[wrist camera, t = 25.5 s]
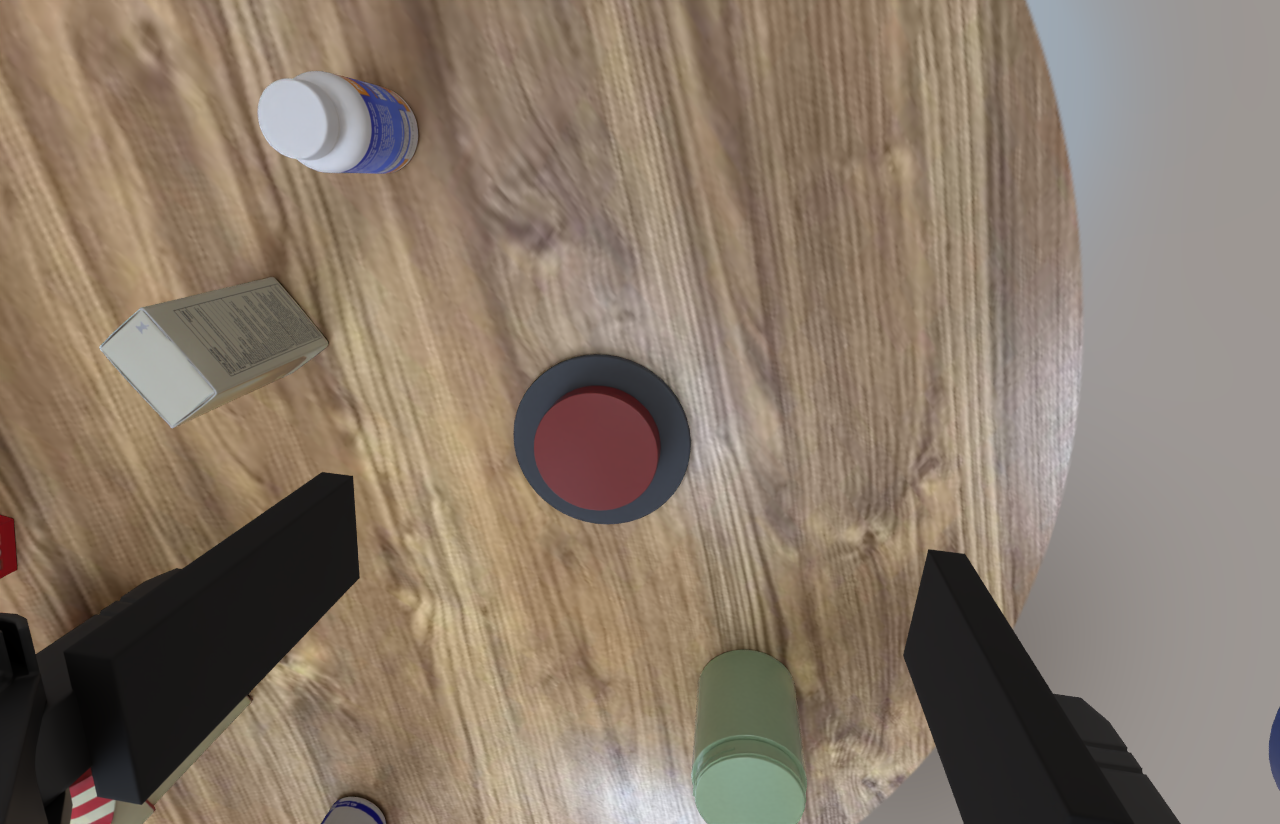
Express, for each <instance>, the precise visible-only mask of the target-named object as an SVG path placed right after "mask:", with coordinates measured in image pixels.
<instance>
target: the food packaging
mask: <svg viewBox="0 0 1280 824" xmlns="http://www.w3.org/2000/svg"><path fill="white" fill-rule="evenodd" d="M15 570H17V560H16V546H15V533H14V519H12V518H9V517H5V516H2V515H0V578H2V577H4V576H6V575H8V574H10V573H12V572H13V571H15Z"/></svg>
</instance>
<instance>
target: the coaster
mask: <svg viewBox="0 0 1280 824" xmlns="http://www.w3.org/2000/svg"><path fill="white" fill-rule="evenodd" d="M586 386H608V387H612V388H616V389H618V390H621V391H624V392H625V393H627V394H629V395H631V396H632V397H634V398H635V399H637V400H638V401H639V402H640V403H641V404H642V405H643V406H644V407H645V408H646V409H647V410H648V411H649V413H650V414H651V416H652V417H653V419H654V421H655V423H656V426H657V428H658V431H659V436H660V444H661V449H660V457H659V461H658V465H657V469H656V472H655V475H654V477H653V480H652V481H651V483H650V485H649V486H648V488H647V489H646V490H645V491H644V492H643V493H642V494H641V495H640V496H639V497H638V498H637V499H635V500H634V501H633V502H631V503H629V504H627V505H625V506H622V507H620V508H616V509H612V510H589V509H584V508H580V507H578V506H575V505H573V504H571V503H569V502H567V501H565V500H564V499H562V498H561V497H559V496H558V495H557V494H556V493H554V492H553V491H552V490H551V488H550V487H549V486H548V485H547V484H546V482H545V481H544V480H543V478H542V476H541V474H540V472H539V470H538V467H537V465H536V461H535V455H534V440H535V434H536V431H537V428H538V426H539V423H540V421H541V420H542V418H543V417H544V415H545V414H546V413H547V412H548V410H549V409H550V408H551V407H552V406H553V404H554V403H555V402H556V401H557V400H558V399H560V398H561V397H562V396H564V395H565V394H567V393H568V392H571V391H573V390H575V389H578V388H581V387H586ZM690 445H691V439H690V430H689V425H688V421H687V418H686V415H685V413H684V410H683V408H682V406H681V404H680V402H679V400H678V399H677V397H676V396H675V394H674V393H673V392H672V390H671V389H670V388H669V387H668V386H667V385H666V384H665V383H664V381H663V380H662V379H660V378H659V377H658V376H657V375H655V374H654V373H653V372H652V371H650V370H648V369H647V368H645V367H643V366H642V365H640V364H637V363H635V362H633V361H631V360H628V359H624V358H621V357H617V356H611V355H598V354H594V355H583V356H579V357H574V358H571V359H568V360H565V361H563V362H560V363H558V364H557V365H555V366H553V367H551V368H550V369H548V370H547V371H546V372H544V373H543V374H542V375H541V376H540V377H539V378H538V379H537V380H536V381H535V382H534V383H533V384H532V385H531V386H530V388H529V389H528V390H527V392H526V393H525V395H524V397H523V399H522V400H521V402H520V405H519V408H518V410H517V414H516V418H515V422H514V446H515V451H516V456H517V459H518V462H519V465H520V467H521V469H522V471H523V474H524V476H525V477H526V479H527V480H528V482H529V484H530V485H531V486H532V487H533V489H534V490H535V491H536V492H537V493H538V494H539V495H540V496H541V497H542V498H543V499H544V500H545V501H546V502H547V503H549V504H550V505H551V506H553V507H554V508H555V509H557V510H559V511H561V512H562V513H564V514H566V515H568V516H571V517H573V518H576V519H579V520H582V521H585V522H591V523H596V524H619V523H625V522H630V521H633V520H636V519H639V518H641V517H644V516H646V515H648V514H650V513H652V512H653V511H655V510H656V509H658V508H659V507H660V506H662V505H663V504H664V503H665V502H666V501H667V500H668V499H669V498H670V497H671V496H672V495H673V494H674V492H675V491H676V490H677V488H678V487H679V485H680V483H681V481H682V479H683V477H684V475H685V472H686V469H687V466H688V462H689V456H690Z"/></svg>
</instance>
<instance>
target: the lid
mask: <svg viewBox="0 0 1280 824" xmlns="http://www.w3.org/2000/svg"><path fill="white" fill-rule="evenodd" d="M660 449H661V444H660V436H659V431H658V428H657V426H656V423H655V421H654V419H653V417H652V416H651V414H650V413H649V411H648V410H647V409H646V408H645V407H644V406H643V405H642V404H641V403H640V402H639V401H638V400H637V399H635V398H634V397H632V396H631V395H629V394H627V393H625V392H624V391H621V390H618V389H616V388H612V387H608V386H586V387H581V388H578V389H575V390H573V391H571V392H568V393H567V394H565V395H564V396H562V397H561V398H560V399H558V400H557V401H556V402H555V403H554V404H553V406H552V407H551V408H550V409H549V410H548V412H547V413H546V414H545V415H544V417H543V418H542V420H541V421H540V423H539V426H538V428H537V431H536V434H535V440H534V455H535V461H536V465H537V467H538V470H539V472H540V474H541V476H542V478H543V480H544V481H545V482H546V484H547V485H548V486H549V487H550V488H551V490H552V491H553V492H554V493H556V494H557V495H558V496H559V497H561V498H562V499H564V500H565V501H567V502H569V503H571V504H573V505H575V506H578V507H580V508H584V509H589V510H612V509H616V508H620V507H622V506H625V505H627V504H629V503H631V502H633V501H634V500H635V499H637V498H638V497H639V496H640V495H641V494H642V493H643V492H644V491H645V490H646V489H647V488H648V486H649V485H650V483H651V481H652V480H653V477H654V475H655V472H656V469H657V465H658V461H659V457H660Z"/></svg>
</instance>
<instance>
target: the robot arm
mask: <svg viewBox="0 0 1280 824" xmlns="http://www.w3.org/2000/svg"><path fill="white" fill-rule="evenodd" d="M359 578H360V577H359V561H358V546H357V531H356V515H355V500H354V485H353V476H349V475H341V474H333V473H325V472H322V473H320V474H319V475H317V476H316V477H314V478H313V479H312V480H310V481H309V482H307V483H306V484H304V485H303V486H301V487H300V488H299V489H297V490H296V491H294V492H293V493H291V494H290V495H288V496H287V497H286V498H284V499H283V500H281V501H280V502H278V503H277V504H275V505H274V506H273V507H271V508H270V509H268V510H267V511H265V512H264V513H262V514H261V515H260V516H258V517H257V518H255V519H254V520H252V521H251V522H249V523H248V524H247V525H245V526H244V527H242V528H241V529H239V530H238V531H236V532H235V533H234V534H232V535H231V536H229V537H228V538H226V539H225V540H223V541H222V542H221V543H219V544H218V545H216V546H215V547H213V548H212V549H210V550H209V551H208V552H206V553H205V554H203V555H202V556H200V557H199V558H197V559H196V560H195V561H193V562H192V563H190V564H189V565H187V566H186V567H184V568H183V569H178V568H176V569H173V570H171V571H169V572H166V573H164V574H161V575H159V576H157V577H154V578H152V579H149V580H147V581H145V582H143V583H142V584H140V585H139V586H137V587H136V588H134V589H133V590H131V591H130V592H128V593H127V594H125V595H124V596H122V597H121V600H120V601H115V602H113V603H112V604H110V605H109V606H107V607H106V608H104V609H103V610H101V613H100V614H99V615H94V616H93V617H91V618H90V619H88V620H87V621H85V622H84V623H82V624H81V625H79V626H78V627H76V628H75V629H73V630H72V631H70V632H69V633H67V634H66V635H64V636H63V637H61V638H60V639H58V640H57V641H55V642H54V643H52V644H51V645H49V646H48V647H46V648H45V649H43V650H42V651H40V652H39V653H37V654H35V650H34V646H33V642H32V638H31V634H30V630H29V626H28V622H27V619H26V618H24V617H22V616H20V615H18V614H10V613H0V824H70V821H71V814H72V807H73V803H72V798H71V794H70V790H69V786H70V785H71V784H73V783H74V782H75V781H76V780H77V779H78V778H79V777H80V776H81V775H83V774H84V773H85V772H86V771H87V770H88V769H89V768H91V772H92V777H93V781H94V785H95V790H96V794H97V797H100V798H106V799H111V800H117V801H122V802H128V803H133V804H139V805H142V804H143V803H144V802H145V801H146V800H147V799H148V798H149V797H150V796H151V795H152V794H153V793H154V792H155V791H156V790H157V789H158V788H159V786H160V785H161V784H162V783H163V782H164V781H165V780H166V779H167V778H168V777H169V776H170V775H171V774H172V773H173V772H174V771H175V770H176V769H177V768H178V767H179V766H180V765H181V764H182V763H183V761H184V760H185V759H186V758H187V757H188V756H189V755H190V754H191V753H192V752H193V751H194V750H195V749H196V748H197V747H198V746H199V745H200V744H201V743H202V742H203V741H204V740H205V739H206V737H207V736H208V735H209V734H210V733H211V732H212V731H213V730H214V729H215V728H216V727H217V726H218V725H219V724H220V723H221V722H222V721H223V720H224V719H225V718H226V717H227V716H228V715H229V713H230V712H231V711H232V710H233V709H234V708H235V707H236V706H237V705H238V704H239V703H240V702H241V701H242V700H243V699H244V698H245V697H246V696H247V695H248V694H249V693H250V692H251V691H252V689H253V688H254V687H255V686H256V685H257V684H258V683H259V682H260V681H261V680H262V679H263V678H264V677H265V676H266V675H267V674H268V673H269V672H270V671H271V670H272V669H273V668H274V667H275V665H276V664H277V663H278V662H279V661H280V660H281V659H282V658H283V657H284V656H285V655H286V654H287V653H288V652H289V651H290V650H291V649H292V648H293V647H294V646H295V645H296V644H297V643H298V641H299V640H300V639H301V638H302V637H303V636H304V635H305V634H306V633H307V632H308V631H309V630H310V629H311V628H312V627H313V626H314V625H315V624H316V623H317V622H318V621H319V620H320V619H321V617H322V616H323V615H324V614H325V613H326V612H327V611H328V610H329V609H330V608H331V607H332V606H333V605H334V604H335V603H336V602H337V601H338V600H339V599H340V598H341V597H342V596H343V595H344V593H345V592H346V591H347V590H348V589H349V588H350V587H351V586H352V585H353V584H354V583H355V582H356V581H357V580H358V579H359ZM903 656H904V659H905V662H906V664H907V667H908V670H909V673H910V676H911V678H912V681H913V684H914V687H915V689H916V692H917V695H918V698H919V700H920V703H921V706H922V709H923V712H924V714H925V717H926V720H927V723H928V725H929V728H930V731H931V734H932V737H933V739H934V742H935V745H936V748H937V750H938V753H939V756H940V759H941V761H942V764H943V767H944V770H945V773H946V775H947V778H948V781H949V784H950V786H951V789H952V792H953V795H954V797H955V800H956V803H957V806H958V808H959V811H960V814H961V817H962V820H963V822H964V824H1180V822H1179V821H1178V819H1177V818H1176V816H1175V815H1174V814H1173V812H1172V811H1171V809H1170V808H1169V806H1168V805H1167V804H1166V802H1165V801H1164V799H1163V798H1162V796H1161V795H1160V794H1159V792H1158V791H1157V789H1156V788H1155V786H1154V785H1153V784H1152V782H1151V781H1150V780H1149V778H1148V777H1147V775H1144V774H1143V773H1142V768H1141V767H1140V765H1139V764H1138V762H1137V761H1136V759H1135V758H1134V757H1133V755H1132V754H1131V753H1129V752H1127V747H1126V745H1125V744H1124V742H1123V741H1122V739H1121V738H1120V737H1119V735H1118V734H1117V732H1116V731H1115V729H1114V728H1113V727H1112V725H1111V724H1110V722H1109V721H1107V720H1106V719H1105V718H1104V717H1103V716H1102V715H1101V714H1099V713H1098V712H1097V711H1096V710H1095V709H1093V708H1092V707H1091V706H1090V705H1089V704H1088V703H1086V702H1085V701H1084V700H1083V699H1082V698H1079V697H1072V696H1065V695H1058V694H1053V693H1052V691H1051V690H1050V689H1049V687H1048V685H1047V684H1046V682H1045V680H1044V679H1043V677H1042V676H1041V674H1040V672H1039V671H1038V670H1037V668H1036V666H1035V665H1034V663H1033V661H1032V660H1031V658H1030V656H1029V655H1028V653H1027V652H1026V650H1025V649H1024V647H1023V645H1022V644H1021V642H1020V641H1019V639H1018V637H1017V636H1016V634H1015V633H1014V631H1013V629H1012V628H1011V626H1010V625H1009V623H1008V621H1007V620H1006V618H1005V617H1004V615H1003V614H1002V612H1001V610H1000V609H999V607H998V606H997V604H996V602H995V601H994V599H993V598H992V596H991V594H990V593H989V591H988V590H987V588H986V586H985V585H984V583H983V582H982V580H981V579H980V577H979V575H978V574H977V572H976V571H975V569H974V567H973V566H972V564H971V563H970V561H969V559H968V558H967V556H966V555H965V554H961V553H953V552H945V551H937V550H929V549H928V553H927V557H926V562H925V566H924V570H923V574H922V579H921V583H920V587H919V591H918V595H917V600H916V604H915V608H914V612H913V616H912V621H911V625H910V629H909V633H908V638H907V642H906V646H905V650H904V654H903Z"/></svg>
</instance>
